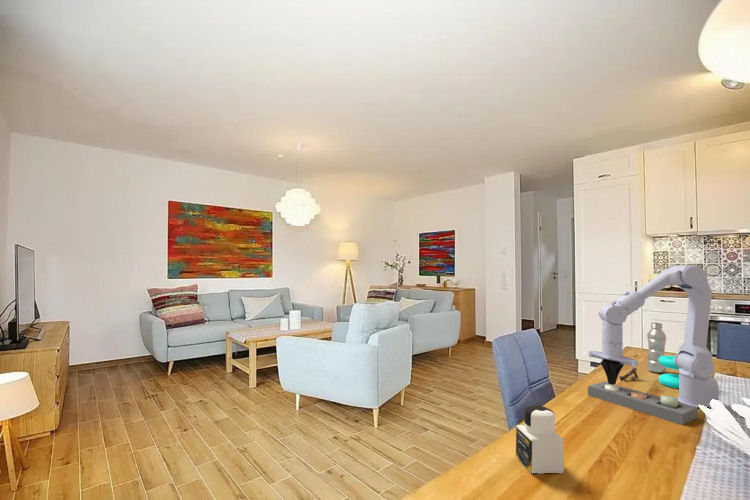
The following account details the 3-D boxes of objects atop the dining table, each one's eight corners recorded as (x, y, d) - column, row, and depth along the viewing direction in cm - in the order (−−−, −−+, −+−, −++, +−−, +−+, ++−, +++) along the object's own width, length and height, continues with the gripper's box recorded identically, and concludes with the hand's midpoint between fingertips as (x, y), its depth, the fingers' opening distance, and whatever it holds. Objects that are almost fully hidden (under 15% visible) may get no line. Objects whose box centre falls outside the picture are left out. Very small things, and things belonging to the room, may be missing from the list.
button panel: (697, 417, 110) (697, 407, 110) (682, 424, 105) (682, 413, 105) (604, 390, 132) (604, 381, 132) (587, 394, 127) (587, 385, 127)
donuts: (687, 356, 142) (698, 363, 133) (687, 383, 142) (698, 392, 133) (655, 353, 146) (663, 359, 137) (654, 379, 146) (663, 387, 137)
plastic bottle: (662, 370, 159) (662, 322, 159) (669, 375, 152) (669, 325, 153) (644, 369, 161) (644, 321, 161) (649, 373, 154) (650, 323, 155)
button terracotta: (649, 403, 118) (649, 395, 118) (642, 406, 116) (642, 397, 116) (634, 399, 121) (634, 391, 121) (628, 401, 119) (628, 393, 119)
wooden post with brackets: (641, 377, 145) (637, 367, 145) (627, 387, 143) (623, 377, 143) (636, 376, 147) (633, 365, 147) (622, 386, 145) (619, 375, 144)
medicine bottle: (515, 456, 85) (516, 402, 85) (545, 456, 86) (546, 402, 86) (530, 474, 78) (531, 415, 78) (564, 474, 79) (565, 415, 79)
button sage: (680, 407, 111) (680, 398, 111) (674, 410, 109) (674, 401, 109) (664, 403, 114) (664, 394, 114) (657, 405, 112) (658, 396, 112)
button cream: (621, 395, 124) (621, 387, 125) (614, 397, 122) (615, 389, 122) (608, 391, 128) (608, 383, 128) (602, 393, 126) (602, 385, 126)
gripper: (583, 338, 130) (583, 379, 129) (630, 347, 117) (629, 392, 117) (595, 337, 133) (594, 376, 133) (641, 345, 121) (641, 388, 121)
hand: (612, 383), depth 125 cm, fingers closed
